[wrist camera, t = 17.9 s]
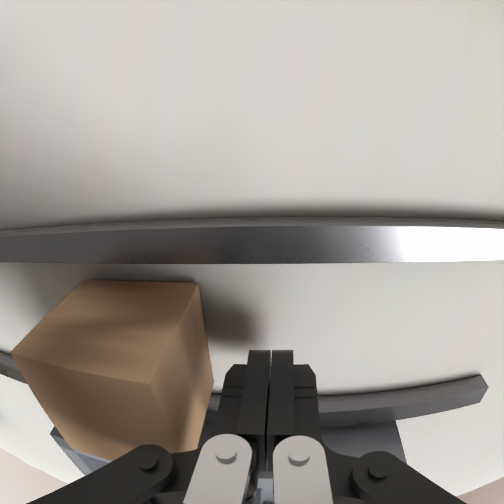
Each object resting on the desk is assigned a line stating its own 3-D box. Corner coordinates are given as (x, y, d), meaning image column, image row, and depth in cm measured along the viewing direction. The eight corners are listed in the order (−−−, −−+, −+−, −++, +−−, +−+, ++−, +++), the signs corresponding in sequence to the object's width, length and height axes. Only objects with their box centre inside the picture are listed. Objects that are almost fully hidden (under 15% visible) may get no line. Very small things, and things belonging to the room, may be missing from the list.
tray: (393, 413, 13) (407, 466, 10) (353, 492, 18) (356, 529, 14) (75, 393, 15) (49, 433, 12) (129, 476, 19) (118, 508, 16)
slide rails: (531, 223, 9) (545, 231, 8) (473, 390, 13) (479, 402, 12) (-48, 235, 12) (-59, 241, 11) (2, 363, 15) (-5, 371, 15)
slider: (198, 282, 11) (149, 383, 6) (213, 381, 13) (189, 477, 8) (73, 278, 12) (-1, 349, 7) (105, 368, 13) (60, 443, 9)
